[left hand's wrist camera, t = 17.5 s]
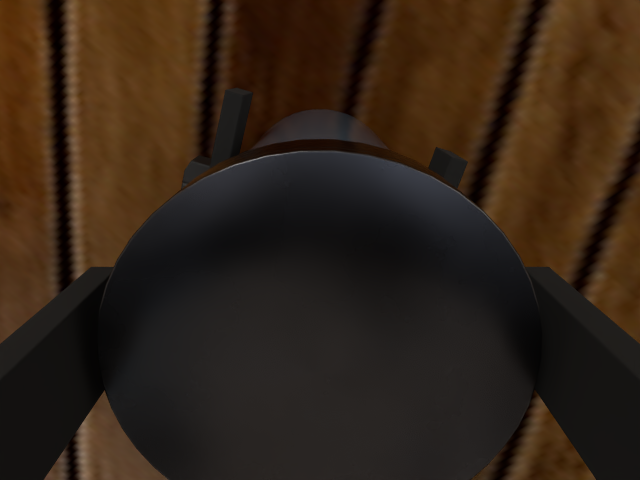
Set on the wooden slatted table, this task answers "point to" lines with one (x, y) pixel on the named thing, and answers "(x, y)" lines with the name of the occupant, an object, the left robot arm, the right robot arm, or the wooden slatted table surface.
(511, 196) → the wooden slatted table surface
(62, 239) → the wooden slatted table surface
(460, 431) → the lid
